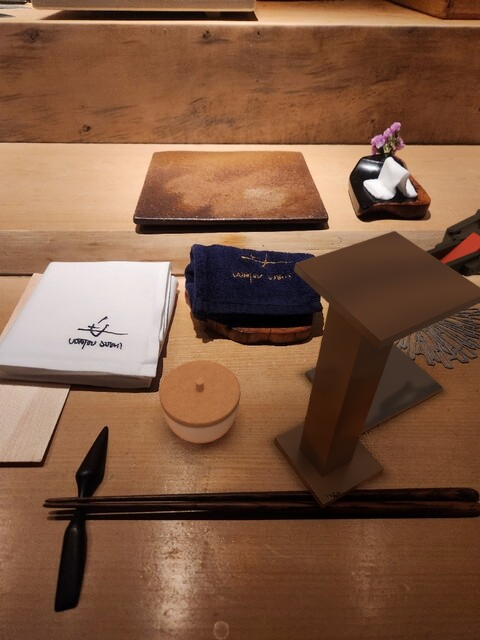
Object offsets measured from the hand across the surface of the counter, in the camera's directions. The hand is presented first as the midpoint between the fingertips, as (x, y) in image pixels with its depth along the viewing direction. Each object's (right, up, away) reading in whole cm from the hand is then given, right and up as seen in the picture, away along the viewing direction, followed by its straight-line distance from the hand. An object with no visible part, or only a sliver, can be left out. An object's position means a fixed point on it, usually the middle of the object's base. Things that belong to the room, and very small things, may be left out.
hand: (432, 267), depth 60 cm
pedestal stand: (-12, -25, +3) cm, 28 cm away
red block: (+1, -2, +3) cm, 4 cm away
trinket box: (-31, -22, +6) cm, 38 cm away
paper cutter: (-4, -17, +12) cm, 21 cm away
